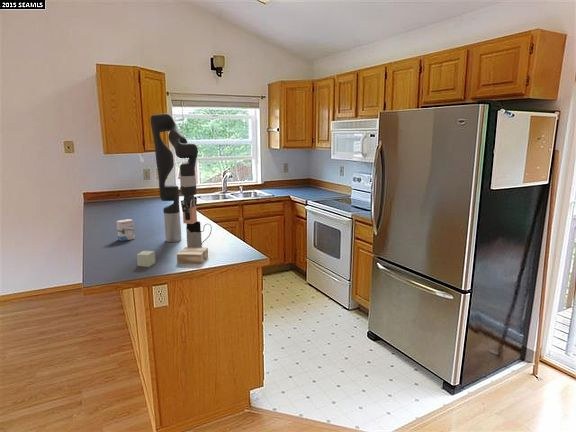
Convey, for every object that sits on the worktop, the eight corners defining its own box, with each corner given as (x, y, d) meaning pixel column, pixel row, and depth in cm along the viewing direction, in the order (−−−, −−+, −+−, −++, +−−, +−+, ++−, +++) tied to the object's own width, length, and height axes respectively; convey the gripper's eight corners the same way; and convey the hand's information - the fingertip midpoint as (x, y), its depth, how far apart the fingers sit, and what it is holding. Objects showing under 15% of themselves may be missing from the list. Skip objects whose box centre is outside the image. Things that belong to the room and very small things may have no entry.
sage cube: (144, 262, 189) (143, 250, 188) (155, 262, 188) (154, 251, 187) (137, 266, 183) (136, 254, 182) (149, 266, 182) (148, 254, 181)
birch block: (185, 256, 199) (185, 247, 198) (208, 257, 198) (207, 247, 197) (177, 263, 187) (176, 254, 186) (201, 264, 186) (200, 254, 185)
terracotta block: (187, 221, 192) (186, 205, 190) (197, 221, 191) (196, 206, 190) (183, 223, 187) (182, 207, 186) (192, 223, 186) (192, 207, 185)
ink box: (120, 241, 225) (119, 222, 223) (117, 239, 229) (115, 220, 226) (135, 238, 231) (133, 220, 229) (131, 237, 235) (130, 218, 232)
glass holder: (185, 247, 214) (184, 221, 211) (211, 244, 219) (209, 219, 216) (187, 251, 206) (186, 224, 203) (213, 249, 211) (212, 222, 208)
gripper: (187, 183, 193) (189, 215, 196) (174, 186, 179) (176, 221, 182) (201, 183, 192) (202, 216, 195) (189, 187, 178) (191, 222, 181)
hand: (190, 218), depth 189 cm, fingers closed on terracotta block, 5 cm apart
